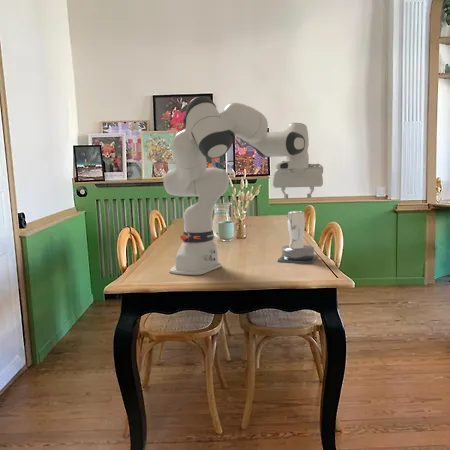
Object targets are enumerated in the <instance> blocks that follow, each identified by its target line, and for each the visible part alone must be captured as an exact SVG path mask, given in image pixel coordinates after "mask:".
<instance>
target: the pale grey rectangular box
mask: <svg viewBox="0 0 450 450" xmlns="http://www.w3.org/2000/svg"><path fill="white" fill-rule="evenodd" d="M305 220H306V219H305V211H302V210H291V211H288V213H287V230H288V234H289V244H288V245H289V248H290V249H303V248H304V245H305V244H304V233H305V225H306V224H305V223H306V221H305Z"/></svg>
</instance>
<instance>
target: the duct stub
mask: <svg viewBox="0 0 450 450" xmlns="http://www.w3.org/2000/svg"><path fill="white" fill-rule="evenodd" d="M303 245H304V248H303V249H290V248H289V244H288V245H285V246H282V249H281V253H282V254H281V256H280V257H279V258H278V260H277V263H286V264H287V263H288V264H290V263H293V264H294V263H295V264H307V265H310V264H311V265H312V264H313V263H314V262H315V261H316V259H317V258H318V257H317V256H319V255H318V254H315V247H314V246H312V245H305V244H303Z"/></svg>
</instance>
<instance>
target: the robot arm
mask: <svg viewBox="0 0 450 450" xmlns="http://www.w3.org/2000/svg"><path fill="white" fill-rule="evenodd" d="M185 108H186V109H185V113H184V118H183V119H182V123H183V124H184V125H185V128H184V129H183V130H181V131H179V132H177V133H176V134H175V136H174V138H173V139H172V154H173V159H174V162H175V167H174V168H173V169H172V168H171V169H170V170H168V171H166V173H165V175H164V176H163V187H164V190H165V191H166V192H167V194H168V195H171V196H177V197H198V201H197V202H196V203H194V204H191V205H190V206H189V207H187V208H186V209H184V213H183V233H182V234H180V236H179V239H180V240H182V243H181V245H180V247H179V248H178V251H177V253H176V256H175V264H174V265H173V266H172V267H171V268H170V269H169V273H171V274H175V275H191V276H193V275H194V276H195V275H203V274H206V273H209V272H212V271H213V270H217V269H218V268H221V267H222V265H223V264H222V263H221V262H219V254H218V253H219V252H218V247H217V244H216V243H215V242H214V236H215V235H214V230H213V211H214V208H215V205H216V203H217V202H218V200H219V199H220V198H221V196H223V195H224V194H225V193H226V192H227V191H228V189H229V187H230V177H229V175H228V172H227V171H226V170H225V169H223V168H218V167H207V166H208V162H207V159H218V158H221V157H223V156H224V155H226V154H227V153H228V151H229V150H230V149H231V148H232V145H233V144H234V142H235V139H236V137H237V138H239V139H240V140H241V142H244V143H245V144H247V146H249V147H251V148H253V149H254V150H255V151H256V153H257V154H258V155H259V156H260V157H261V158H272V157H275V158H277V157H286V160H283V161H281V162H278V163H276V164H275V170H274V172H273V174H272V176H273V177H272V186H273V188H275V189H278V188H279V189H280V188H281V189H280V190H281V192H282V194H283V198H284V199H285V200H288V199H289V194H288V193H286V188H309V190H310V191H309V193H307V194H306V198H307V199H312V194H313V192H314V190H315V188H316V187H322V186H323V184H324V179H323V173H324V166H323V165H322V164H320V163H309V162H310V161H309V158H310V157H309V152H308V150H309V146H310V145H309V144H310V143H309V132H308V127H307V125H306V124H304V123H301V122H291V123H289V124H288V125H287V129H285V130H283V131H270V132H269V131H268V129H269V125H268V123H269V122H268V120H267V119H268V118H266V116H265V115H264V114H263V113H262V112H260V111H259V110H257V109H256V108H253V107H252V106H249V105H246V104H244V103H240V102H231V103H229V104H227V105H226V106H225V108H224V109H223V110H222V112H219V110H218V109H217V105H216V104H215V102H213V100H212V99H211V98H210V97H208V96H197V97H194V98H193V99H191V100H190V101H189V102H188V104H187V106H186V107H185Z"/></svg>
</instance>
